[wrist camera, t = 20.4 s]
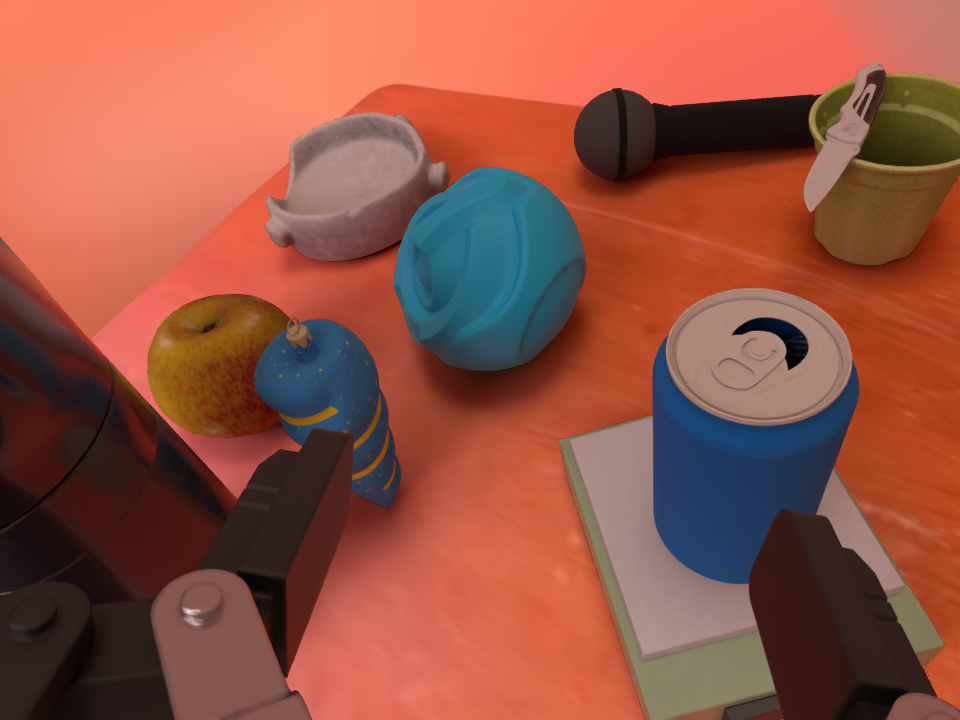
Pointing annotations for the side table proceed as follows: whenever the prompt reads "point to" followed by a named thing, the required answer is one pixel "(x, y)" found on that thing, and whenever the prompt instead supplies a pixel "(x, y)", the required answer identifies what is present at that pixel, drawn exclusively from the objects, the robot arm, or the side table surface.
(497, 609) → the side table surface
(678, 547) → the beverage can
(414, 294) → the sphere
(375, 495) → the ornament
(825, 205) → the plant pot
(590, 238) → the side table surface
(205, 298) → the fruit
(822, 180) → the pocket knife
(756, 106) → the microphone
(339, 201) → the dish
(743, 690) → the scale
